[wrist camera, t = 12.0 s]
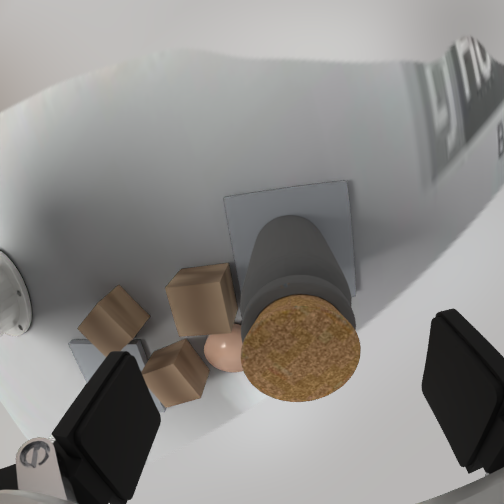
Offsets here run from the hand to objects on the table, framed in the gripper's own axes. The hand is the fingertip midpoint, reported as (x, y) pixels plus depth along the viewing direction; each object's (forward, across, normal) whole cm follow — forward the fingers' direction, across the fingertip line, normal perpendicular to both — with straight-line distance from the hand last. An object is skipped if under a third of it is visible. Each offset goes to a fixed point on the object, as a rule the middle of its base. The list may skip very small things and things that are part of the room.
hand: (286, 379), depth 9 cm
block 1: (+19, +17, +6) cm, 26 cm away
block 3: (+19, +12, +12) cm, 26 cm away
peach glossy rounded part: (+19, +6, +10) cm, 22 cm away
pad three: (+18, -1, +1) cm, 19 cm away
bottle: (+18, -1, +1) cm, 18 cm away
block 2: (+19, +7, +4) cm, 21 cm away
